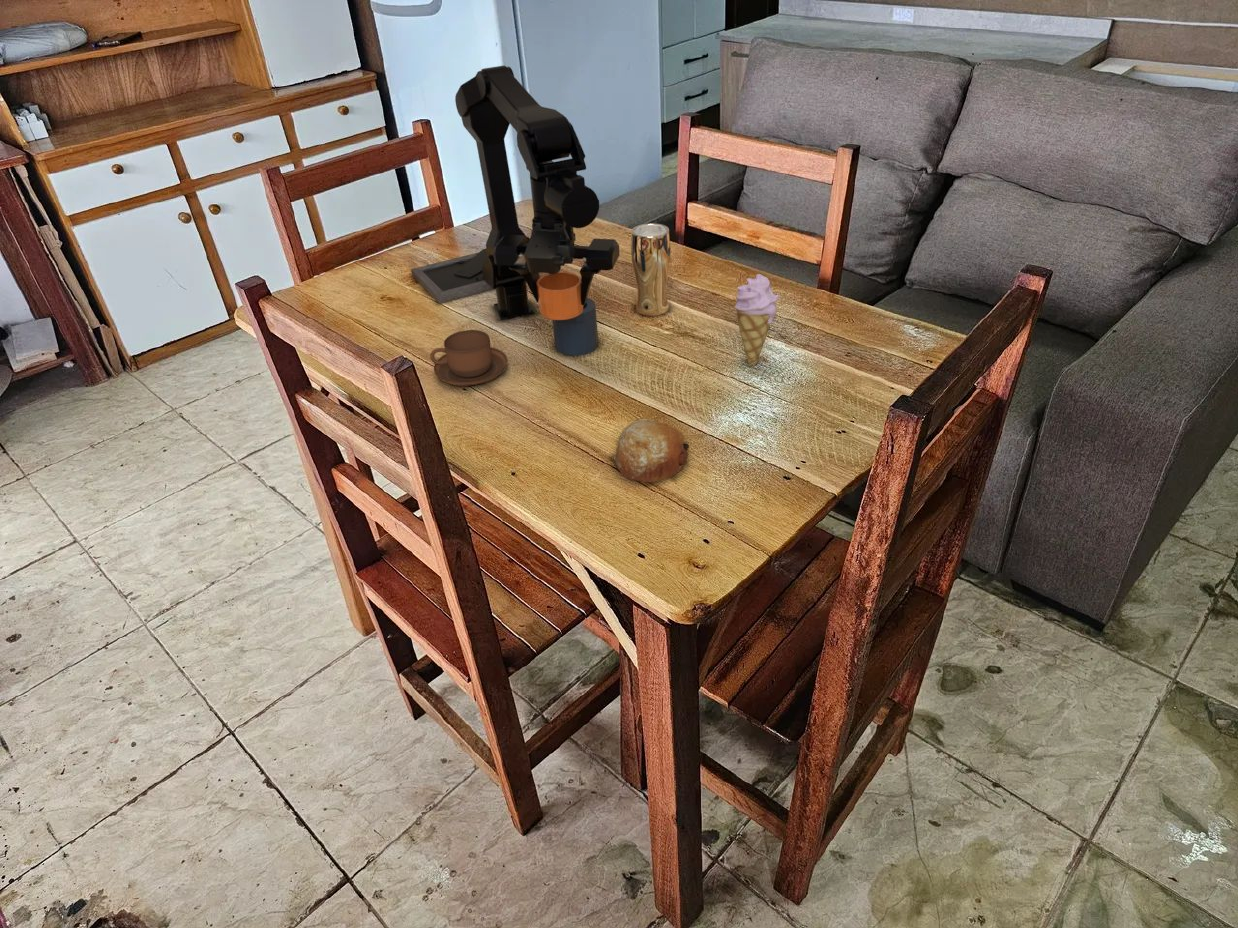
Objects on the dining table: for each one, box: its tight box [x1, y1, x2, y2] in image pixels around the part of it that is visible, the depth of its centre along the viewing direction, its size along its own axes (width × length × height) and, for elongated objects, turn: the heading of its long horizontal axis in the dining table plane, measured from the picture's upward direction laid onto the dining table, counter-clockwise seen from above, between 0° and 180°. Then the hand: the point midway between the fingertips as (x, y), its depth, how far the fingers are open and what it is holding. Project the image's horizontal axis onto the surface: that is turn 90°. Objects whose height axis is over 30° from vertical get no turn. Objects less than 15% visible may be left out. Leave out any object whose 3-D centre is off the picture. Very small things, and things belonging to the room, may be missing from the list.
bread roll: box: [613, 417, 690, 483], centre depth 114 cm, size 10×10×8 cm
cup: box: [537, 271, 584, 320], centre depth 131 cm, size 7×7×5 cm
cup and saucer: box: [429, 329, 508, 387], centre depth 135 cm, size 12×12×6 cm
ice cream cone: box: [734, 273, 782, 366], centre depth 131 cm, size 7×6×15 cm
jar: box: [551, 297, 599, 357], centre depth 141 cm, size 7×8×8 cm
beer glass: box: [630, 223, 671, 317], centre depth 149 cm, size 7×7×15 cm
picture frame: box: [410, 248, 493, 304], centre depth 169 cm, size 16×2×21 cm
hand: (561, 303), depth 132 cm, fingers closed on cup, 7 cm apart
